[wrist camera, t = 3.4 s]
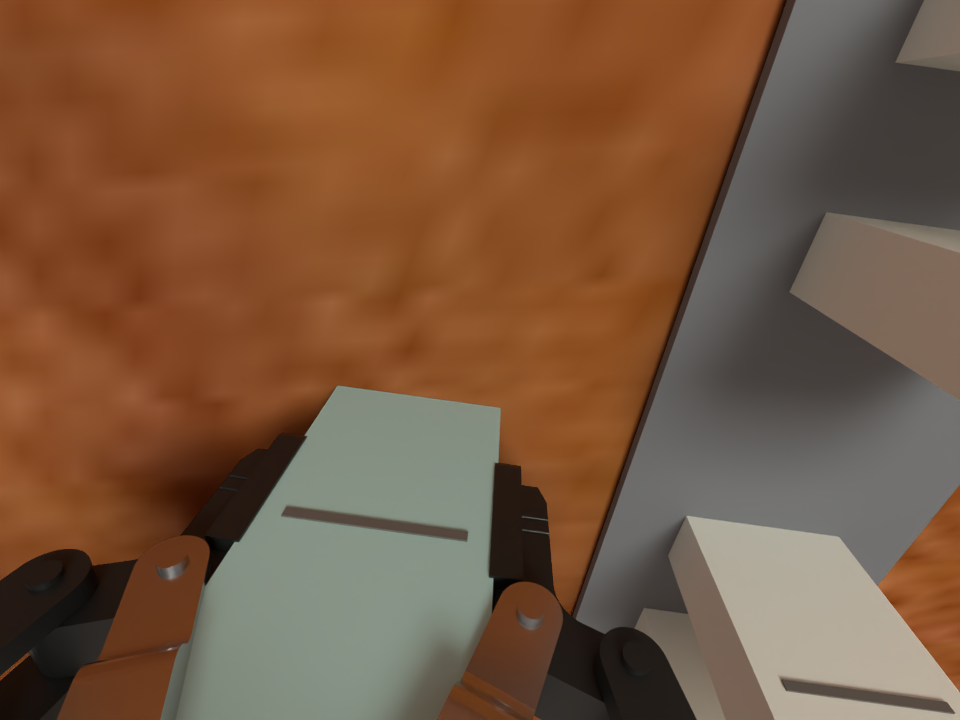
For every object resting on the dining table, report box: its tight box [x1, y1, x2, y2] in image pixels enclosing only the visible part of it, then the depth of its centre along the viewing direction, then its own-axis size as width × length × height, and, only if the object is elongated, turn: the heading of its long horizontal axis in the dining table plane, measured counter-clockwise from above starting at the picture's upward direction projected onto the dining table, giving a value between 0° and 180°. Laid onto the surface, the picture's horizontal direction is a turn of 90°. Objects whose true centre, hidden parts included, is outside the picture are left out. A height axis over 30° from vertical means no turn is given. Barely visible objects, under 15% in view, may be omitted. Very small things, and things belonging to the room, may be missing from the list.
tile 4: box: [668, 516, 960, 720], centre depth 12 cm, size 2×5×10 cm, turn 83°
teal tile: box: [176, 386, 501, 720], centre depth 11 cm, size 2×5×10 cm, turn 83°
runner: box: [572, 0, 960, 634], centre depth 14 cm, size 28×10×1 cm, turn 173°
